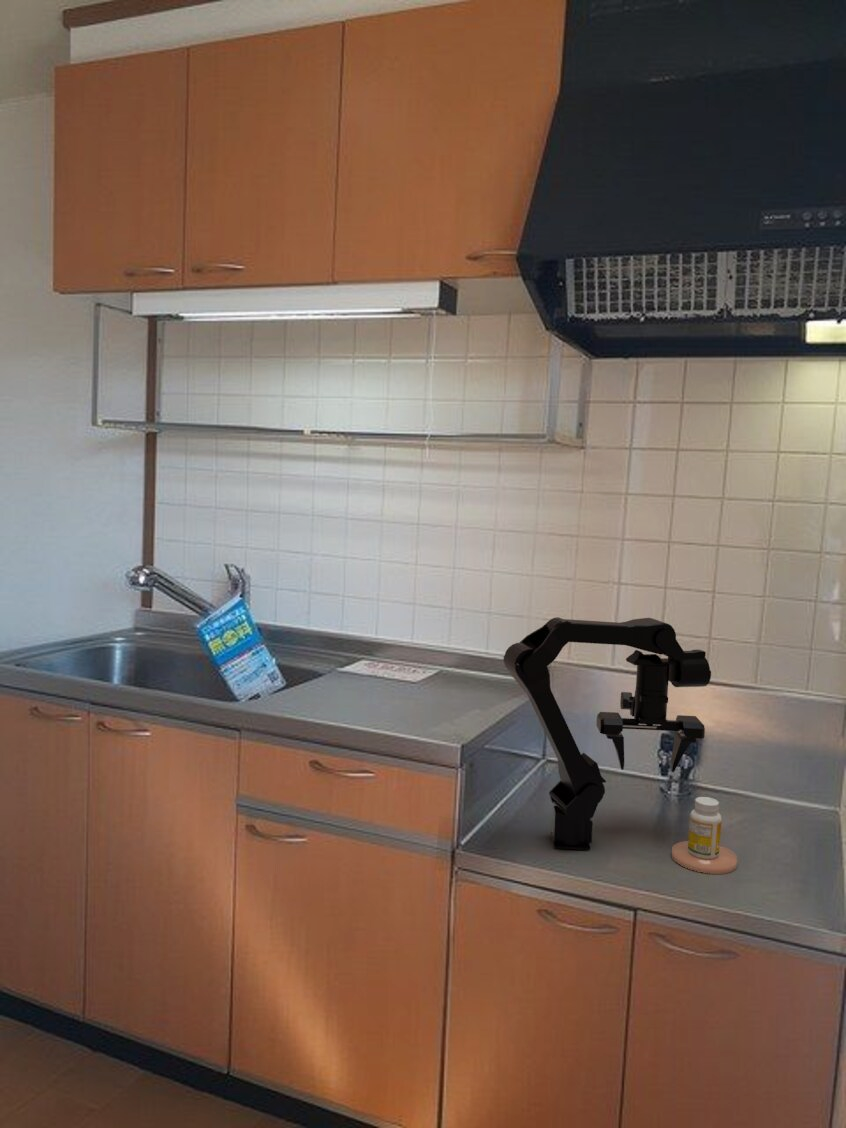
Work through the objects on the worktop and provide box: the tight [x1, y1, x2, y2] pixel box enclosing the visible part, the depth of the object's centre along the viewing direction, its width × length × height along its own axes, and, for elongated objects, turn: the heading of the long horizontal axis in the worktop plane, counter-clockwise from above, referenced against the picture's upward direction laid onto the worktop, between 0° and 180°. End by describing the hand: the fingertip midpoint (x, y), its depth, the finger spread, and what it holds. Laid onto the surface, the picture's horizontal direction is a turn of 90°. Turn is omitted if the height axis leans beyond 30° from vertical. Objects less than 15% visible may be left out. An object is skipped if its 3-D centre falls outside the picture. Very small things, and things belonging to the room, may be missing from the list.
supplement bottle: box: [687, 796, 723, 859], centre depth 155 cm, size 5×5×10 cm
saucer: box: [671, 840, 738, 875], centre depth 155 cm, size 11×11×1 cm
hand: (647, 770), depth 163 cm, fingers open, 9 cm apart
